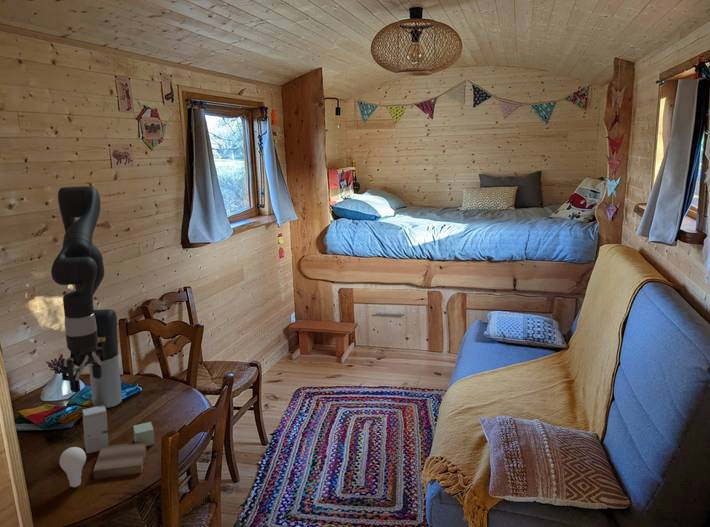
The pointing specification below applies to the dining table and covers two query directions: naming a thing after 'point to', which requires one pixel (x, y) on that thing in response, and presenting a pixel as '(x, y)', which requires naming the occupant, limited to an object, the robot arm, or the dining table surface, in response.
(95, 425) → the skincare box
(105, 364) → the robot arm
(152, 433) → the sage block
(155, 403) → the dining table surface
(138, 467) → the beige flat slab
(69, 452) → the lightbulb
